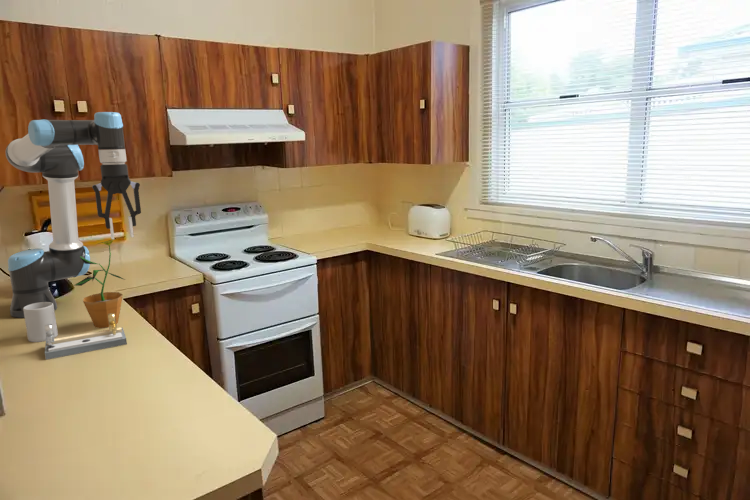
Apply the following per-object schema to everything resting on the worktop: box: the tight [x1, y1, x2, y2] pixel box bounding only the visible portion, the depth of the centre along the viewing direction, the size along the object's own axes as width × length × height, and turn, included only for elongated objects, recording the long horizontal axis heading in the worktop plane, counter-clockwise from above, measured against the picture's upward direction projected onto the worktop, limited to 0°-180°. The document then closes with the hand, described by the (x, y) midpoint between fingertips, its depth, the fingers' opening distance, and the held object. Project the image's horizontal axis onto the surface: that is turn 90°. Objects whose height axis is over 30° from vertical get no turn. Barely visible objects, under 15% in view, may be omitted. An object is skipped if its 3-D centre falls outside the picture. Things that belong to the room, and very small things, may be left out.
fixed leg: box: [45, 324, 56, 347], centre depth 164 cm, size 8×2×5 cm, turn 30°
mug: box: [23, 302, 59, 343], centre depth 178 cm, size 12×8×11 cm
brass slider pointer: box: [108, 313, 118, 335], centre depth 172 cm, size 8×2×5 cm, turn 30°
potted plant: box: [74, 237, 126, 329], centre depth 186 cm, size 18×19×30 cm
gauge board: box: [44, 327, 128, 360], centre depth 169 cm, size 12×22×3 cm, turn 120°
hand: (122, 237), depth 171 cm, fingers open, 5 cm apart
